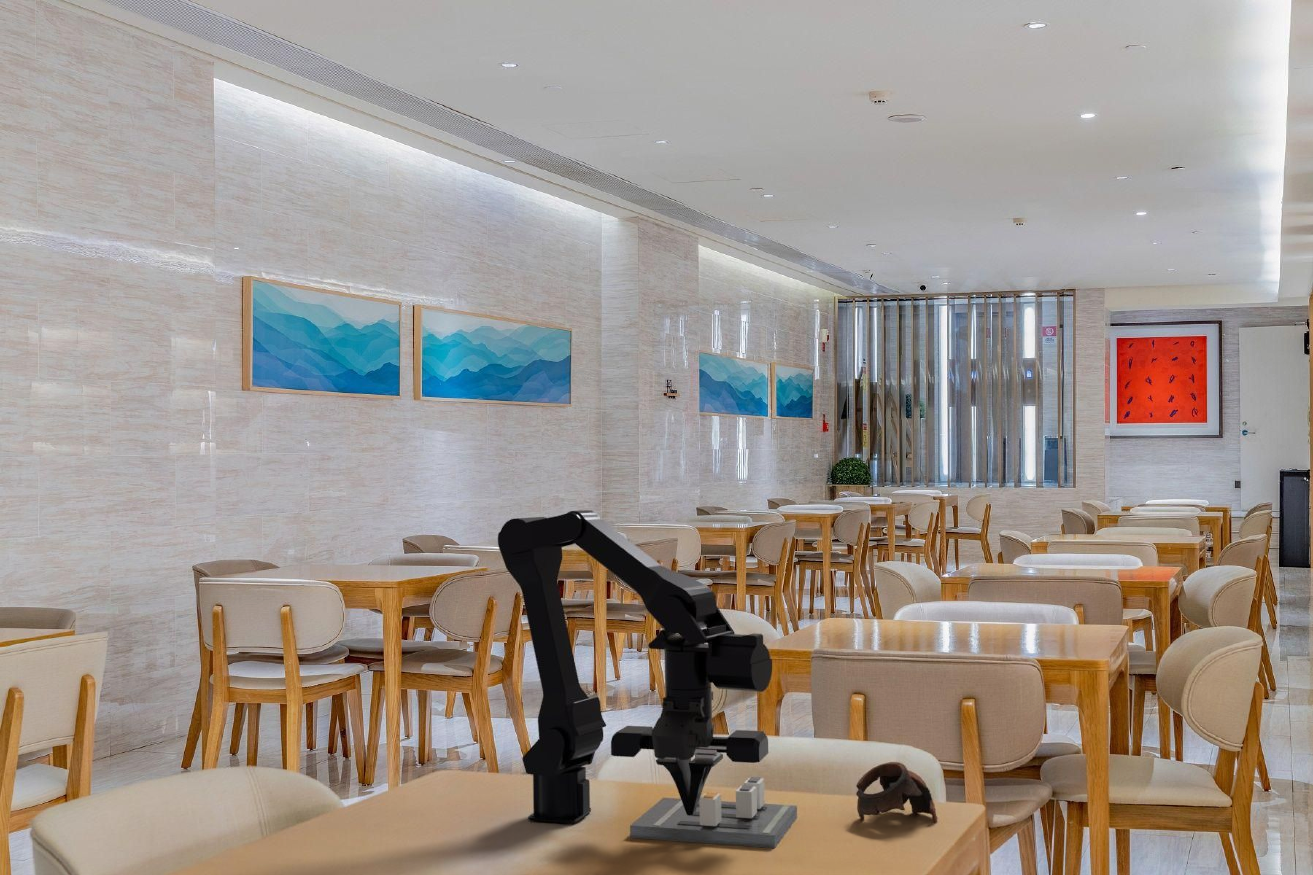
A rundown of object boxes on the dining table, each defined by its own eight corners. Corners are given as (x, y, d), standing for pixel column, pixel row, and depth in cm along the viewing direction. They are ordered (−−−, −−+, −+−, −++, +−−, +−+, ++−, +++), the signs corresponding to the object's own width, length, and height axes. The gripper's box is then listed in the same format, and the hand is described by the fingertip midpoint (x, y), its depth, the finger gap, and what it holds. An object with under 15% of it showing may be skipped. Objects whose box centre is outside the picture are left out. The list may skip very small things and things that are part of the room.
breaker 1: (699, 824, 153) (699, 796, 153) (705, 818, 155) (705, 791, 155) (715, 825, 152) (715, 797, 152) (721, 819, 155) (721, 792, 155)
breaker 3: (736, 817, 156) (735, 789, 156) (741, 811, 159) (740, 784, 159) (752, 818, 155) (751, 790, 155) (756, 812, 158) (756, 785, 158)
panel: (630, 837, 154) (630, 824, 154) (663, 808, 167) (663, 796, 168) (774, 847, 149) (774, 834, 149) (797, 817, 162) (796, 804, 162)
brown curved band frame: (949, 833, 156) (919, 779, 154) (880, 865, 157) (850, 811, 155) (932, 785, 167) (904, 735, 166) (868, 815, 169) (840, 765, 167)
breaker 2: (744, 807, 160) (744, 781, 160) (749, 802, 163) (749, 776, 163) (759, 808, 160) (759, 781, 160) (764, 803, 162) (764, 776, 162)
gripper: (594, 694, 150) (596, 827, 150) (747, 699, 145) (750, 837, 144) (624, 680, 161) (626, 803, 160) (767, 684, 155) (770, 812, 155)
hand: (690, 814), depth 154 cm, fingers closed
